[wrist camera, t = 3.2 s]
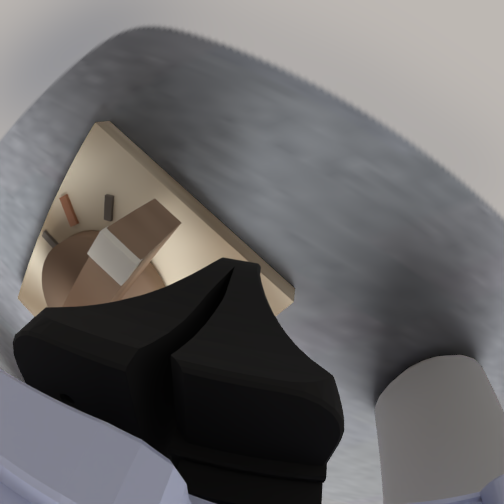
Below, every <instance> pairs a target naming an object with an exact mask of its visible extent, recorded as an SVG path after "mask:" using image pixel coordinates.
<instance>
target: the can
mask: <svg viewBox="0 0 504 504" xmlns="http://www.w3.org/2000/svg"><path fill="white" fill-rule="evenodd" d="M375 420H376V427H377V436H378V444H379V453H380V463H381V475H382V487H383V502H384V504H407V503H417V502H425V501H432V500H439V499H445V498H451V497H456V496H462V495H467V494H471V493H476V492H480V491H481V490H482V489H483V488H484V487H485V486H486V485H487V484H488V483H489V482H491V481H492V480H493V479H495V478H497V477H499V476H500V475H503V474H504V412H503V409H502V407H501V405H500V403H499V401H498V398H497V396H496V394H495V392H494V390H493V388H492V386H491V384H490V382H489V380H488V378H487V376H486V374H485V372H484V370H483V368H482V366H481V365H480V364H479V363H478V362H477V361H476V360H475V359H473V358H470V357H467V356H464V355H445V356H436V357H433V358H429V359H426V360H423V361H421V362H419V363H417V364H415V365H413V366H411V367H409V368H408V369H406V370H405V371H404V372H403V373H401V374H400V375H399V376H397V378H396V379H395V380H393V381H392V382H391V383H390V384H389V385H388V386H387V387H386V389H385V390H384V391H383V392H382V393H381V395H380V396H379V398H378V401H377V403H376V406H375Z"/></svg>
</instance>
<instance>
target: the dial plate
mask: <svg viewBox="0 0 504 504" xmlns="http://www.w3.org/2000/svg"><path fill="white" fill-rule="evenodd" d="M154 198H155V199H156V200H157V201H158V202H159V203H161V204H162V205H163V206H164V207H165V208H166V209H167V210H168V211H169V212H170V213H172V214H173V215H174V216H175V217H176V218H177V219H178V220H179V221H180V222H181V224H180V225H179V227H178V228H177V229H176V230H175V231H174V233H173V234H172V235H171V236H170V238H169V239H168V240H167V241H166V242H165V244H164V245H163V246H162V247H161V249H160V250H159V251H158V252H157V254H156V255H155V256H154V257H153V259H152V260H151V261H150V263H151V264H152V265H153V267H154V268H155V269H156V271H157V272H158V274H159V275H160V277H161V279H162V281H163V283H164V284H165V286H168V285H171V284H173V283H175V282H177V281H179V280H181V279H183V278H185V277H187V276H189V275H191V274H193V273H195V272H197V271H199V270H201V269H202V268H204V267H206V266H208V265H209V264H211V263H213V262H215V261H217V260H218V259H220V258H223V257H224V258H229V259H235V260H241V261H247V262H253V263H258V264H259V265H260V266H261V272H260V276H261V282H262V286H263V289H264V292H265V295H266V298H267V300H268V303H269V305H270V307H271V309H272V311H273V313H274V315H275V317H276V316H277V315H278V314H279V313H281V312H282V311H283V310H284V309H286V308H287V307H288V306H289V305H291V304H292V303H293V302H294V294H295V288H294V287H293V286H292V285H290V284H289V283H288V282H287V281H286V280H285V279H284V278H283V277H282V276H281V275H279V274H278V273H277V272H276V271H275V270H274V269H273V268H272V267H271V266H269V265H268V264H267V263H266V262H265V261H264V260H263V259H262V258H261V257H260V256H258V255H257V254H256V253H255V252H254V251H253V250H252V249H251V248H250V247H248V246H247V245H246V244H245V243H244V242H243V241H242V240H241V239H240V238H239V237H237V236H236V235H235V234H234V233H233V232H232V231H231V230H230V229H229V228H227V227H226V226H225V225H224V224H223V223H222V222H221V221H220V220H219V219H218V218H216V217H215V216H214V215H213V214H212V213H211V212H210V211H209V210H208V209H206V208H205V207H204V206H203V205H202V204H201V203H200V202H199V201H198V200H197V199H195V198H194V197H193V196H192V195H191V194H190V193H189V192H188V191H187V190H185V189H184V188H183V187H182V186H181V185H180V184H179V183H178V182H177V181H175V180H174V179H173V178H172V177H171V176H170V175H169V174H168V173H167V172H166V171H164V170H163V169H162V168H161V167H160V166H159V165H158V164H157V163H156V162H154V161H153V160H152V159H151V158H150V157H149V156H148V155H147V154H146V153H144V152H143V151H142V150H141V149H140V148H139V147H138V146H137V145H136V144H134V143H133V142H132V141H131V140H130V139H129V138H128V137H127V136H126V135H124V134H123V133H122V132H121V131H120V130H119V129H118V128H117V127H116V126H115V125H113V124H112V123H111V122H110V121H104V122H95V123H94V125H93V127H92V129H91V130H90V132H89V134H88V135H87V137H86V139H85V141H84V142H83V144H82V146H81V148H80V150H79V151H78V153H77V155H76V157H75V159H74V161H73V163H72V164H71V166H70V168H69V170H68V172H67V174H66V176H65V178H64V180H63V182H62V184H61V186H60V189H59V191H58V193H57V195H56V197H55V199H54V202H53V204H52V206H51V208H50V210H49V213H48V215H47V217H46V220H45V222H44V225H43V227H42V230H41V232H40V235H39V237H38V240H37V242H36V245H35V248H34V250H33V253H32V256H31V259H30V261H29V264H28V267H27V270H26V273H25V276H24V279H23V282H22V286H21V289H20V292H19V296H18V299H19V300H20V301H21V302H22V304H23V305H24V306H25V307H26V308H27V309H28V310H29V311H30V312H31V313H32V314H33V315H34V316H36V315H38V314H39V313H40V312H41V311H42V310H43V309H44V308H45V307H48V306H47V304H46V301H45V298H44V294H43V289H42V268H43V264H44V261H45V259H46V257H47V255H48V253H49V252H50V251H51V249H52V248H54V247H55V246H56V245H57V244H59V243H61V242H62V241H64V240H65V239H67V238H69V237H70V236H72V235H74V234H76V233H78V232H82V231H88V230H95V231H101V230H103V229H104V228H106V227H107V226H110V225H112V224H113V223H115V222H116V221H118V220H120V219H121V218H123V217H124V216H126V215H128V214H129V213H131V212H133V211H134V210H136V209H138V208H139V207H141V206H143V205H144V204H146V203H148V202H149V201H151V200H153V199H154Z"/></svg>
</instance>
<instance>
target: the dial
mask: <svg viewBox="0 0 504 504" xmlns="http://www.w3.org/2000/svg"><path fill="white" fill-rule="evenodd" d="M180 224H181V222H180V221H179V220H178V219H177V218H176V217H175V216H174V215H173V214H172V213H170V212H169V211H168V210H167V209H166V208H165V207H164V206H163V205H162V204H161V203H159V202H158V201H157V200H156V199H155V198H154V199H153V200H151V201H149V202H148V203H146V204H144V205H143V206H141V207H139V208H138V209H136V210H134V211H133V212H131V213H129V214H128V215H126V216H124V217H123V218H121V219H120V220H118V221H116V222H115V223H113V224H112V225H110V226H107V227H106V228H104V229H103V230H101V231H95V230H88V231H82V232H78V233H76V234H74V235H72V236H70V237H69V238H67V239H65V240H64V241H62V242H61V243H59V244H57V245H56V246H55V247H54V248H52V249H51V251H50V252H49V253H48V255H47V257H46V259H45V261H44V264H43V268H42V289H43V294H44V298H45V301H46V304H47V306H48V307H77V306H88V305H96V304H103V303H109V302H115V301H119V300H124V299H128V298H132V297H136V296H140V295H143V294H146V293H149V292H152V291H155V290H158V289H161V288H163V287H166V286H165V284H164V283H163V281H162V279H161V277H160V275H159V274H158V272H157V271H156V269H155V268H154V267H153V265H152V264H151V263H150V261H151V260H152V259H153V257H154V256H155V255H156V254H157V252H158V251H159V250H160V249H161V247H162V246H163V245H164V244H165V242H166V241H167V240H168V239H169V238H170V236H171V235H172V234H173V233H174V231H175V230H176V229H177V228H178V227H179V225H180Z"/></svg>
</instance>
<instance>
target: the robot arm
mask: <svg viewBox="0 0 504 504" xmlns="http://www.w3.org/2000/svg"><path fill="white" fill-rule="evenodd" d="M260 272H261V266H260V265H259V264H258V263H253V262H247V261H241V260H235V259H229V258H224V257H223V258H220V259H218V260H217V261H215V262H213V263H211V264H209V265H208V266H206V267H204V268H202V269H201V270H199V271H197V272H195V273H193V274H191V275H189V276H187V277H185V278H183V279H181V280H179V281H177V282H175V283H173V284H171V285H168V286H166V287H163V288H161V289H158V290H155V291H152V292H149V293H146V294H143V295H140V296H136V297H132V298H128V299H124V300H119V301H115V302H109V303H103V304H96V305H88V306H77V307H45V308H44V309H43V310H42V311H41V312H40V313H39V314H38V315H36V316H35V317H34V318H33V319H32V320H31V321H30V322H29V323H28V324H27V325H26V326H25V327H23V328H22V329H21V330H20V331H19V332H18V333H17V334H16V335H15V338H14V341H13V349H14V356H15V359H16V362H17V365H18V367H19V369H20V372H21V374H22V376H23V378H24V380H25V382H26V383H24V382H22V381H20V380H19V379H17V378H15V377H13V376H12V375H10V374H8V373H7V372H5V371H4V370H2V369H0V504H321V501H322V483H324V481H325V479H326V470H327V462H328V461H329V459H330V457H331V456H332V454H333V452H334V451H335V449H336V448H337V446H338V444H339V442H340V441H341V438H342V435H343V432H344V416H343V410H342V405H341V401H340V396H339V392H338V389H337V386H336V383H335V380H334V377H333V375H331V374H330V373H329V372H327V371H326V370H325V369H323V368H322V367H321V366H319V365H318V364H317V363H315V362H314V361H313V360H311V359H310V358H309V357H308V356H307V355H306V354H305V353H304V352H302V351H301V350H300V349H299V348H298V347H297V346H296V345H295V343H294V342H293V341H292V340H291V339H290V338H289V336H288V335H287V334H286V333H285V331H284V330H283V328H282V327H281V325H280V324H279V322H278V320H277V319H276V317H275V315H274V313H273V311H272V309H271V307H270V305H269V303H268V300H267V298H266V295H265V292H264V289H263V286H262V282H261V276H260ZM407 504H504V474H503V475H500V476H499V477H497V478H495V479H493V480H492V481H491V482H489V483H488V484H487V485H486V486H485V487H484V488H483V489H482V490H481V491H480V492H476V493H471V494H467V495H462V496H456V497H451V498H445V499H439V500H432V501H425V502H417V503H407Z"/></svg>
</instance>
